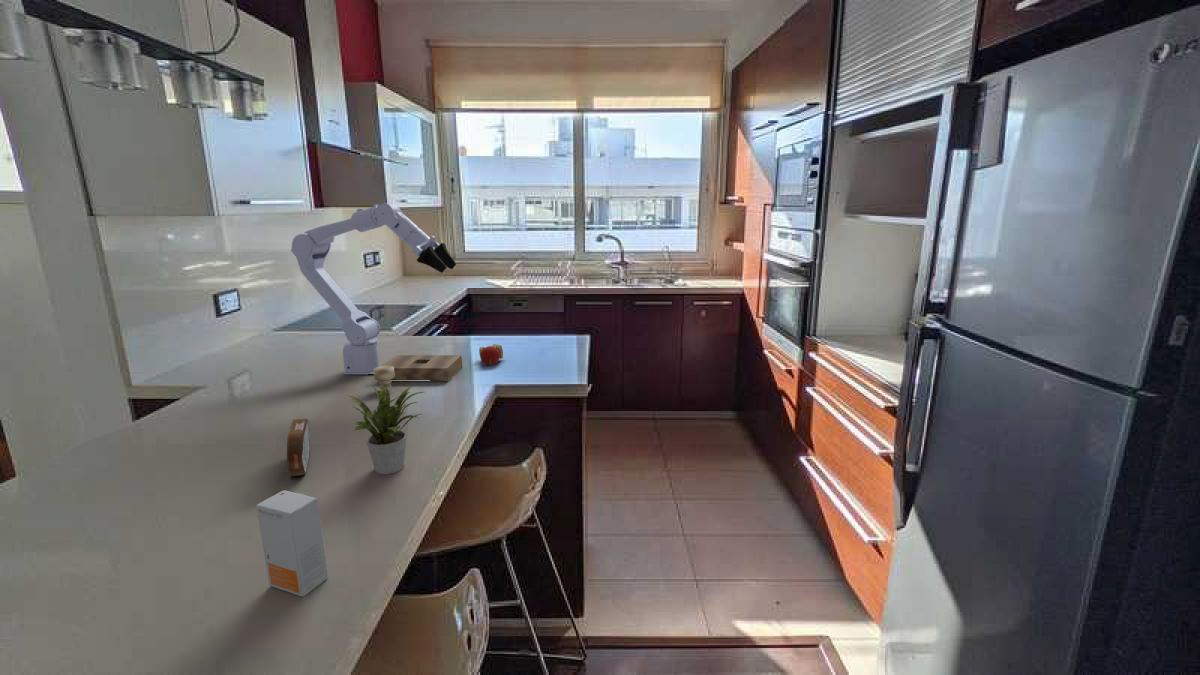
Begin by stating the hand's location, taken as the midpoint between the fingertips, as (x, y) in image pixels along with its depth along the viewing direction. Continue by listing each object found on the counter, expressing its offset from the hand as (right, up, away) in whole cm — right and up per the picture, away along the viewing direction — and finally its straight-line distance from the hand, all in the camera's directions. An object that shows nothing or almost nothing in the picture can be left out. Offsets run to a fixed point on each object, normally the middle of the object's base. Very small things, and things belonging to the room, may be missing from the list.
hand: (449, 268), depth 156 cm
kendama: (+8, -27, +22) cm, 36 cm away
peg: (-15, -34, -8) cm, 38 cm away
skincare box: (+4, -52, -84) cm, 99 cm away
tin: (-14, -45, -51) cm, 70 cm away
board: (-10, -31, +6) cm, 33 cm away
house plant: (+5, -45, -53) cm, 70 cm away
